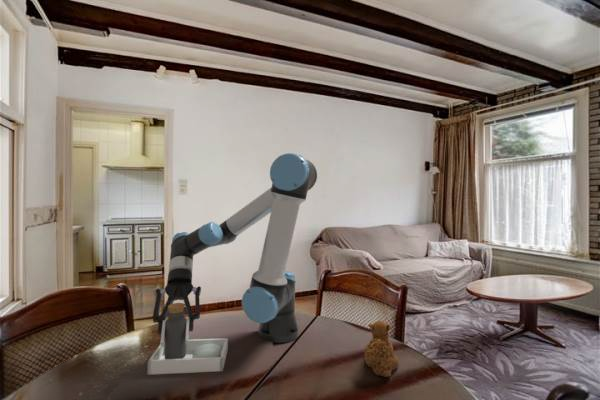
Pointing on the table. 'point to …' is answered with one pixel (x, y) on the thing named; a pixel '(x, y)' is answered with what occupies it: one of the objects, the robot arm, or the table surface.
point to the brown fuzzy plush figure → (380, 350)
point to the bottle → (175, 332)
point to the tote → (188, 359)
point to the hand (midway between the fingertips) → (174, 343)
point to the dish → (206, 351)
